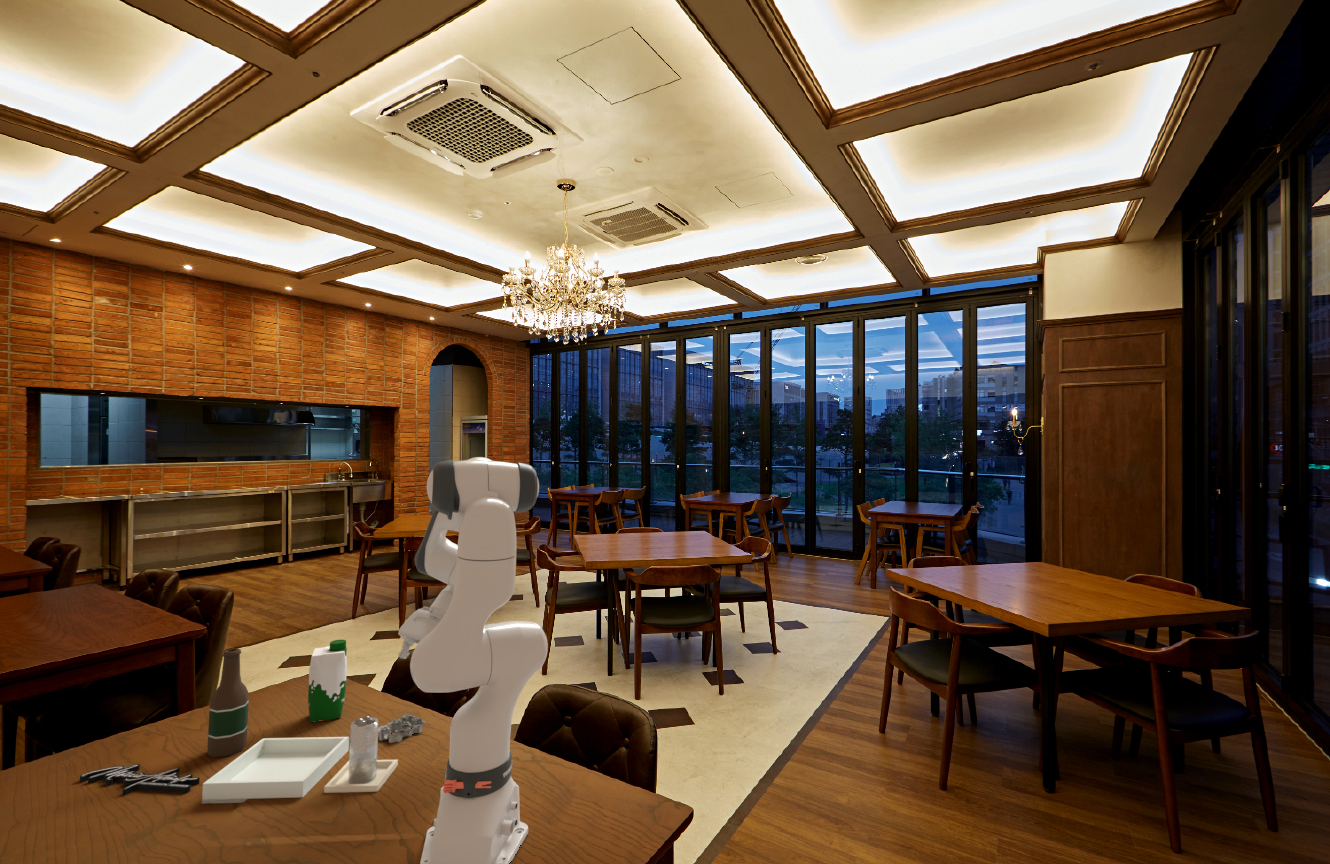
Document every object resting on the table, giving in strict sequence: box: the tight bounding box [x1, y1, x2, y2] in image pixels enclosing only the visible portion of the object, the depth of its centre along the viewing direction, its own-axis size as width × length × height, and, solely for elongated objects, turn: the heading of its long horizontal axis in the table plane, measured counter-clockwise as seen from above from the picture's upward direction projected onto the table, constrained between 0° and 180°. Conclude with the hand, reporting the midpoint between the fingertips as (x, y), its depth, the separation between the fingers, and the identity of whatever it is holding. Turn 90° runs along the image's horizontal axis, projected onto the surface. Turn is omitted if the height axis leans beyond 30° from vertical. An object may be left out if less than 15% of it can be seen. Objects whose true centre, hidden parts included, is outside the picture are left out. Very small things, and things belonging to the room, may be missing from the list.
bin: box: [201, 736, 350, 805], centre depth 131 cm, size 20×20×4 cm
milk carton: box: [307, 639, 348, 722], centre depth 163 cm, size 9×9×20 cm
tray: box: [323, 759, 399, 794], centre depth 130 cm, size 11×11×2 cm
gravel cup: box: [348, 715, 379, 784], centre depth 130 cm, size 6×6×13 cm
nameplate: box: [79, 763, 201, 796], centre depth 128 cm, size 27×2×10 cm
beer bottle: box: [207, 647, 250, 759], centre depth 144 cm, size 8×8×24 cm
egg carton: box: [378, 713, 427, 744], centre depth 152 cm, size 11×8×4 cm
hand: (414, 660), depth 142 cm, fingers open, 8 cm apart
